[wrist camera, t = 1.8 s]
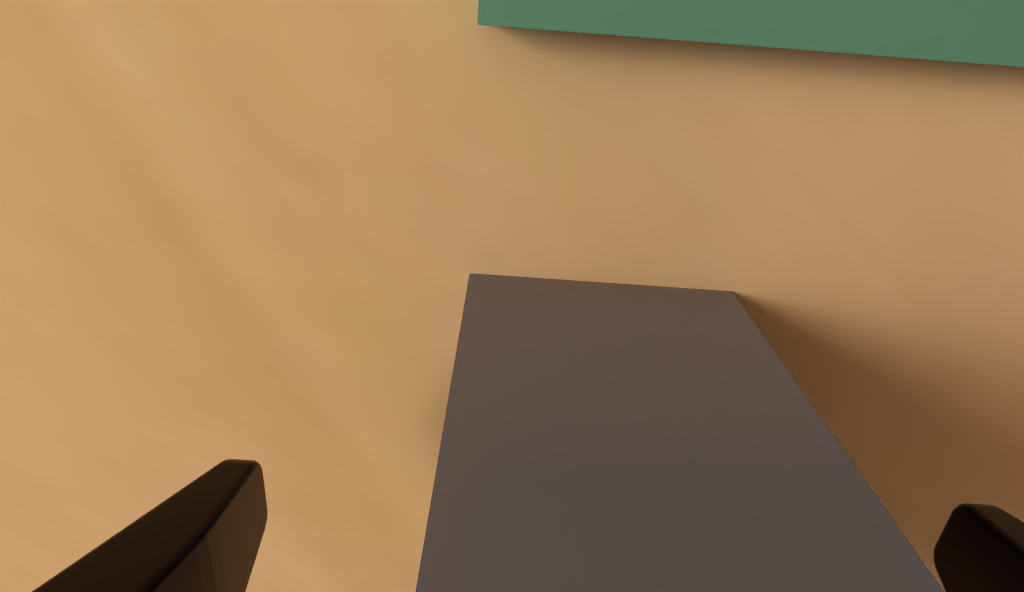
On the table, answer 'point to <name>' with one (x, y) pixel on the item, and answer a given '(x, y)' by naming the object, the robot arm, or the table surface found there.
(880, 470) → the table surface
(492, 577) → the plug
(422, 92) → the table surface
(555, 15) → the board
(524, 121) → the table surface
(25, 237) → the table surface
